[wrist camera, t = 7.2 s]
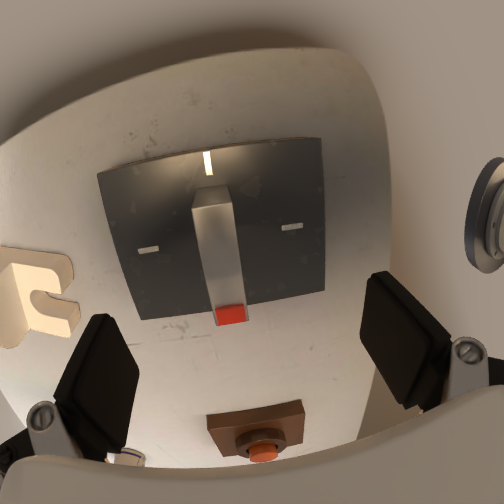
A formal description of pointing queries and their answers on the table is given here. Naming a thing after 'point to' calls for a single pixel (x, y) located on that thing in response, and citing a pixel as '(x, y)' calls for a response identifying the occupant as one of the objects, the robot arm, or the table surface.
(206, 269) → the tap handle
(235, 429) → the brown button mount
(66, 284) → the slotted bracket
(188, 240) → the plate
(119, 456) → the energy drink
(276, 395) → the table surface
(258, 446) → the orange short cylinder
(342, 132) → the table surface
